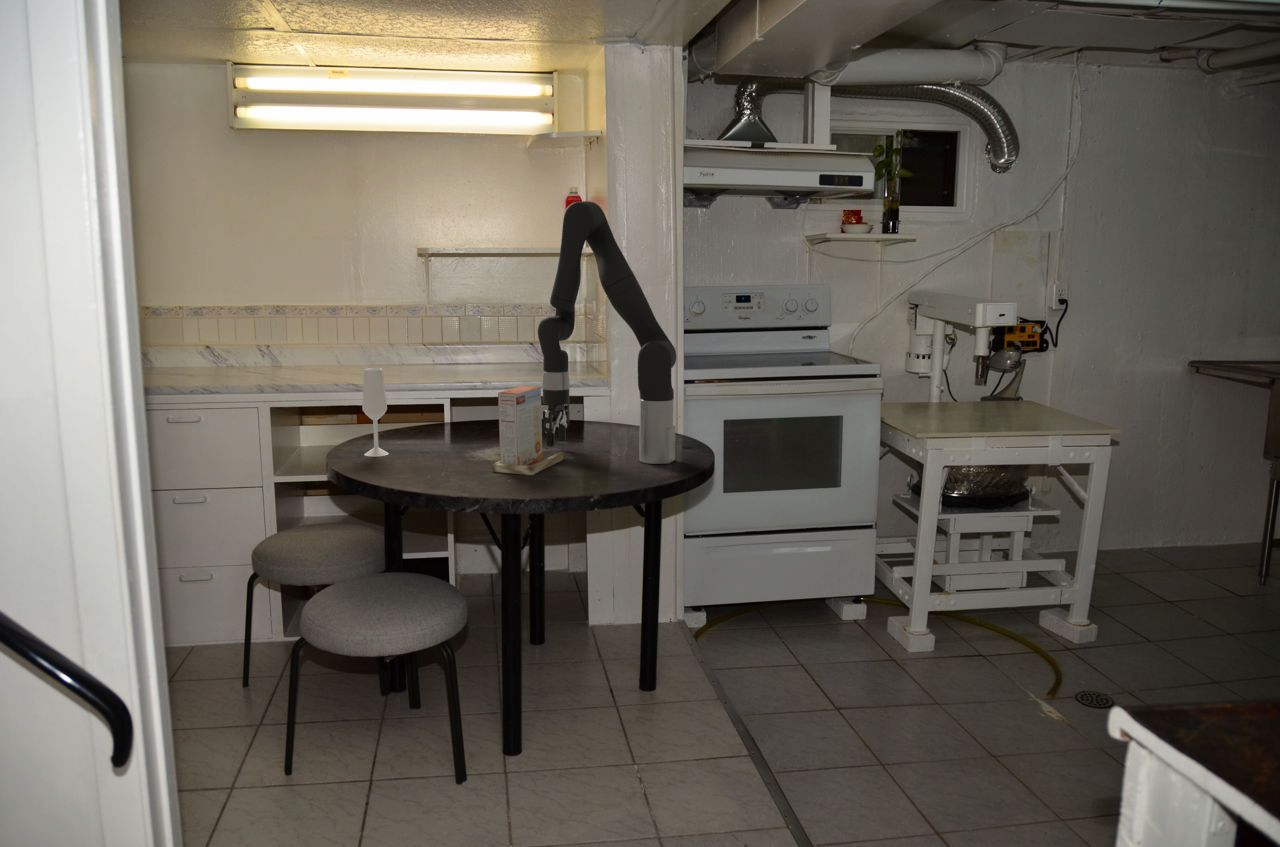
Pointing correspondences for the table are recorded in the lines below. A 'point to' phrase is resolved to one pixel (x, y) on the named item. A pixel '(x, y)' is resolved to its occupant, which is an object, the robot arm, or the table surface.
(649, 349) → the robot arm
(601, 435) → the table surface
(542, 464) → the outline frame
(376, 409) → the champagne flute
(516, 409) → the cracker box
